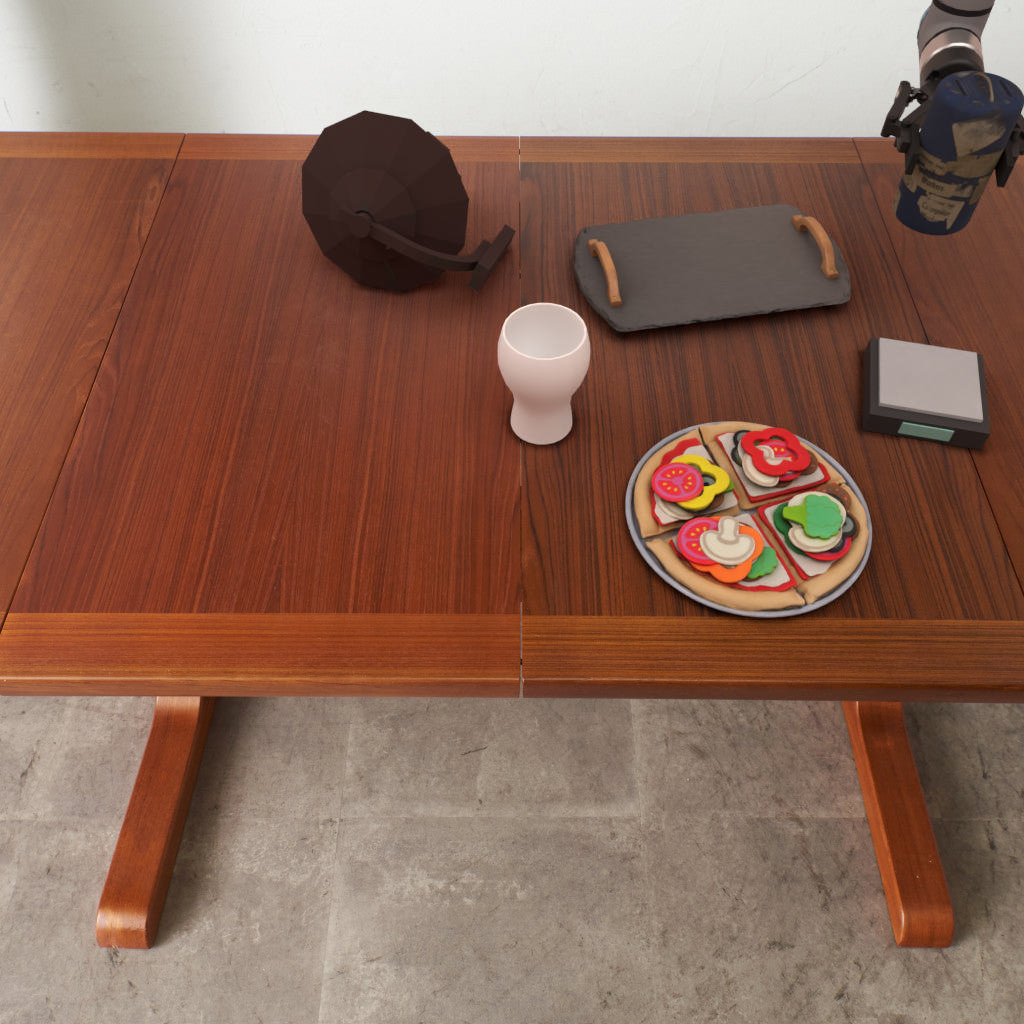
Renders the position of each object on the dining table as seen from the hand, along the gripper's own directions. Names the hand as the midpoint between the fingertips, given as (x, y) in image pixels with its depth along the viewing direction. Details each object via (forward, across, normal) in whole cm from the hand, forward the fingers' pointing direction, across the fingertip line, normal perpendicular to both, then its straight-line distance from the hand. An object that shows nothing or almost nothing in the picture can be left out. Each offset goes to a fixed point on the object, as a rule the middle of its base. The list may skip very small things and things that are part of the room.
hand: (958, 170), depth 103 cm
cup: (+28, +42, -24) cm, 56 cm away
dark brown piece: (+1, +66, -24) cm, 71 cm away
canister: (-4, 0, -10) cm, 11 cm away
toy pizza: (+37, +16, -24) cm, 47 cm away
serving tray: (-5, +26, -24) cm, 35 cm away
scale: (+13, -4, -24) cm, 27 cm away
